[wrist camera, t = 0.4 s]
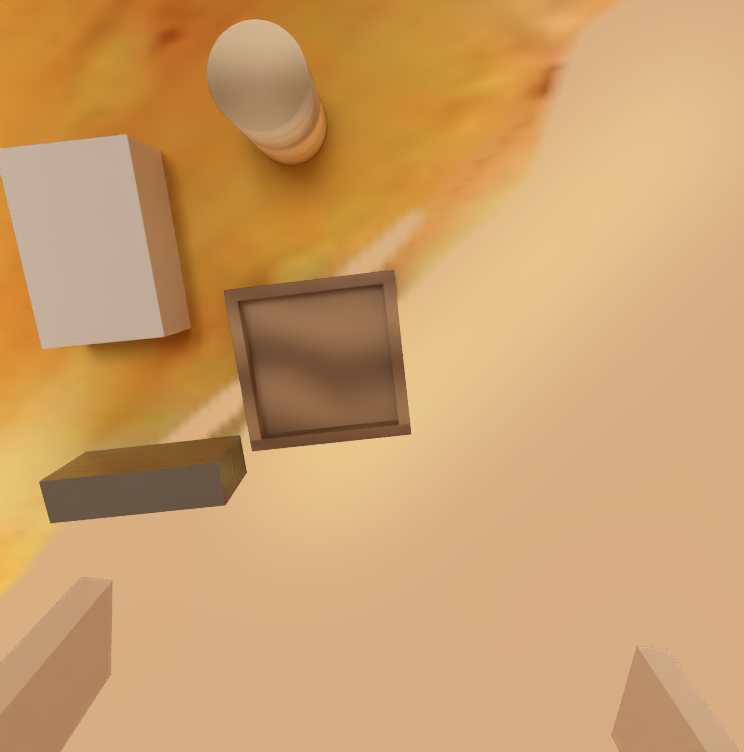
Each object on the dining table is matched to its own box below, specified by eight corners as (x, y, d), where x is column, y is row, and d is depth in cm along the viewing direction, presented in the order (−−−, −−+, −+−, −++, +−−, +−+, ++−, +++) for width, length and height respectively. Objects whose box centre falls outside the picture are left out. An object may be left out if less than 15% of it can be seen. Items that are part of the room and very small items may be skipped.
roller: (246, 88, 34) (198, 26, 25) (321, 78, 33) (299, 12, 25) (258, 169, 35) (216, 137, 26) (331, 159, 35) (314, 123, 26)
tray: (230, 289, 36) (223, 290, 35) (393, 270, 36) (393, 270, 34) (257, 443, 39) (252, 451, 37) (410, 427, 38) (411, 434, 37)
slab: (48, 165, 35) (-6, 149, 30) (162, 152, 35) (126, 134, 30) (86, 338, 38) (42, 348, 33) (192, 327, 37) (164, 337, 33)
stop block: (86, 452, 39) (39, 481, 34) (240, 435, 39) (217, 462, 33) (95, 488, 40) (50, 523, 35) (246, 472, 39) (225, 505, 34)
